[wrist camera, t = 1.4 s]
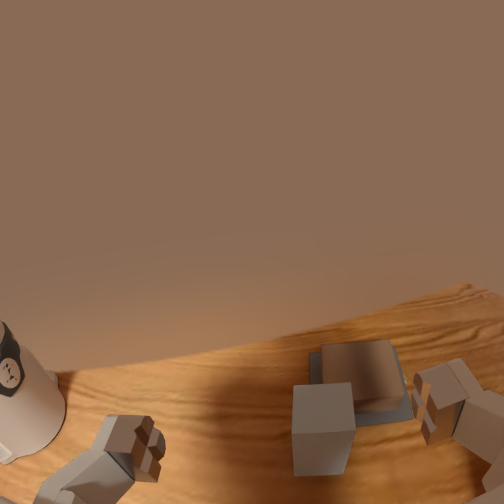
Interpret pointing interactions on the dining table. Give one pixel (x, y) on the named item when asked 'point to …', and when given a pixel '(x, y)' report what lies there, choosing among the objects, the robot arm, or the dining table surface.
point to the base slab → (365, 373)
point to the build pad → (367, 418)
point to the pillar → (322, 428)
